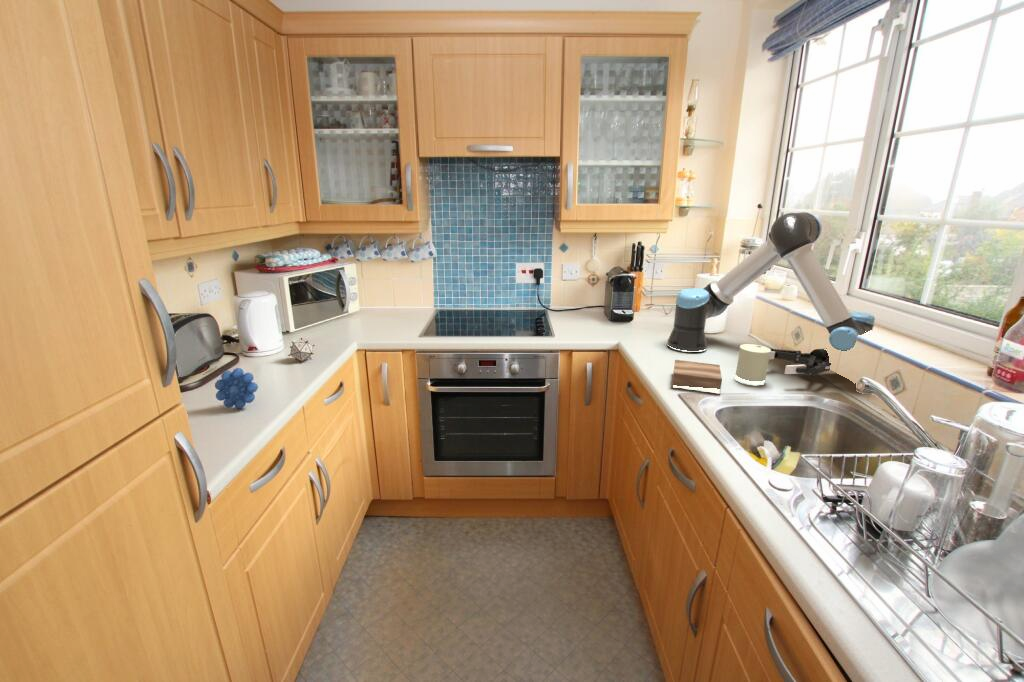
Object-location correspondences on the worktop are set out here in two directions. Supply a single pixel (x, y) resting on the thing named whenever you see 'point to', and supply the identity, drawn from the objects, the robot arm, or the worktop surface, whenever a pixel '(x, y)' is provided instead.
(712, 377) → the walnut block
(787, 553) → the worktop surface
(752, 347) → the can
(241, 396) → the blue knobbed ball
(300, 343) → the grey spiked polyhedron
